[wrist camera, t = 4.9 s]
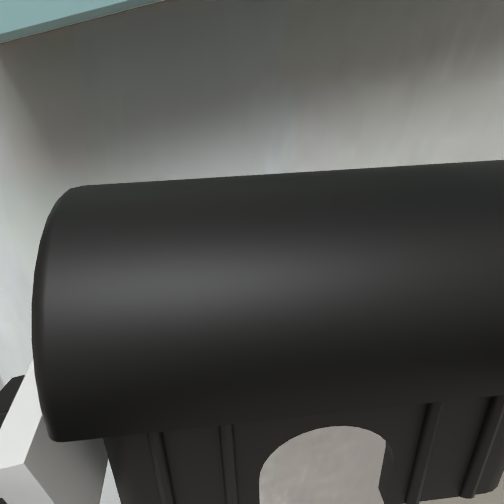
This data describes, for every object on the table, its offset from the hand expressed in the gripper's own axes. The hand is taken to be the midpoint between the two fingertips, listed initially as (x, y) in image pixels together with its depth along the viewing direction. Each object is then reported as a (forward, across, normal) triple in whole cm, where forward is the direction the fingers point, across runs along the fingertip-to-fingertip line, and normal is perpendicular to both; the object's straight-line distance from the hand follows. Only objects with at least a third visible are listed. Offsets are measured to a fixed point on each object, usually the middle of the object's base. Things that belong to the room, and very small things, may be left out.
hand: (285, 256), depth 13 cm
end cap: (+1, 0, 0) cm, 1 cm away
